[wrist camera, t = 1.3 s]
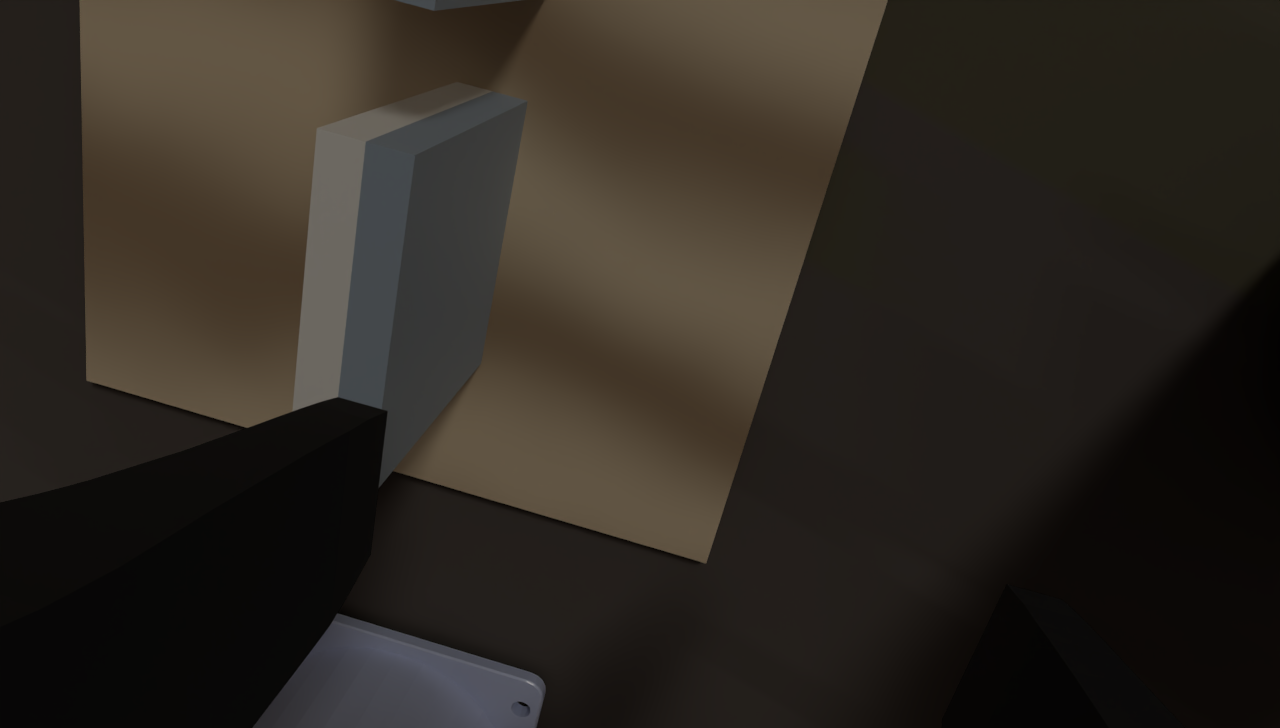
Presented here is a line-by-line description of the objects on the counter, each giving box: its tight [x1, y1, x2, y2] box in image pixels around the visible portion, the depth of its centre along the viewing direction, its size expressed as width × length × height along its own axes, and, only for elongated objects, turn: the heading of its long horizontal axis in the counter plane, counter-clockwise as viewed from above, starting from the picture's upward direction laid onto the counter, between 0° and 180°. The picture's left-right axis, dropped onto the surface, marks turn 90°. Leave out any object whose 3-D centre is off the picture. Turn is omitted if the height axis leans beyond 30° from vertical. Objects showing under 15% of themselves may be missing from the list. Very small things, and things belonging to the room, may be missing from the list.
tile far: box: [292, 82, 528, 487], centre depth 18 cm, size 6×2×6 cm, turn 167°
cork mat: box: [80, 0, 888, 563], centre depth 19 cm, size 22×16×1 cm
